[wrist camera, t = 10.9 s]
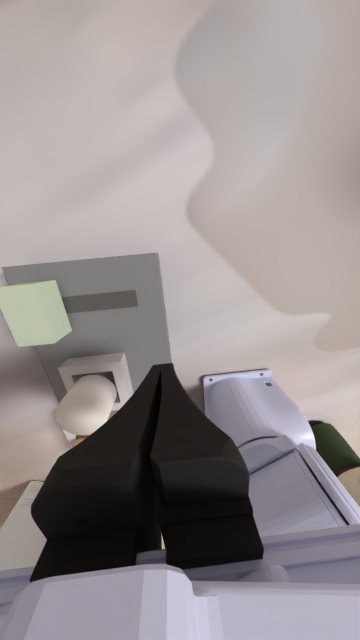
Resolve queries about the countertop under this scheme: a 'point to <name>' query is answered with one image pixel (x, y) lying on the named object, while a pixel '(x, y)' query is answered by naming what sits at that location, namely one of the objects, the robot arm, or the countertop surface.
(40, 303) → the pale green block
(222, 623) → the robot arm
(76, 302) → the switch panel
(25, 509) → the supplement box
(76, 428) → the off-white button
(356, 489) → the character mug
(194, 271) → the countertop surface
